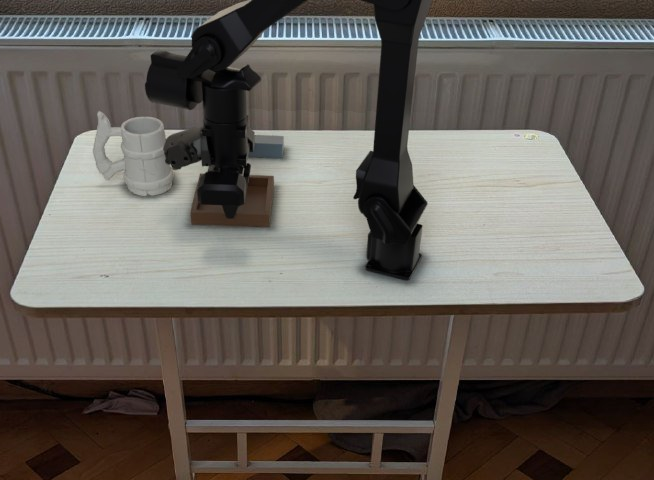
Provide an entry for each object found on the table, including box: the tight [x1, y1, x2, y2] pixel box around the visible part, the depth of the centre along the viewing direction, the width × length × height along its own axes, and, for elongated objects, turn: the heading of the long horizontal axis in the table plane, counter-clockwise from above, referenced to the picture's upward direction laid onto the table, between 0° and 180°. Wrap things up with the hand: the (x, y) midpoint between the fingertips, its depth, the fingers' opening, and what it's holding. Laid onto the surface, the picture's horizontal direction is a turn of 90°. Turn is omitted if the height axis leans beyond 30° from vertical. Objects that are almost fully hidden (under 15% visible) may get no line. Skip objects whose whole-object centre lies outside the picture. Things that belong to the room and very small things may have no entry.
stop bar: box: [248, 134, 285, 159], centre depth 139 cm, size 3×12×2 cm, turn 88°
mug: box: [92, 110, 175, 197], centre depth 127 cm, size 8×12×12 cm, turn 96°
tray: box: [190, 173, 275, 228], centre depth 127 cm, size 12×12×2 cm
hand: (230, 217), depth 122 cm, fingers closed
